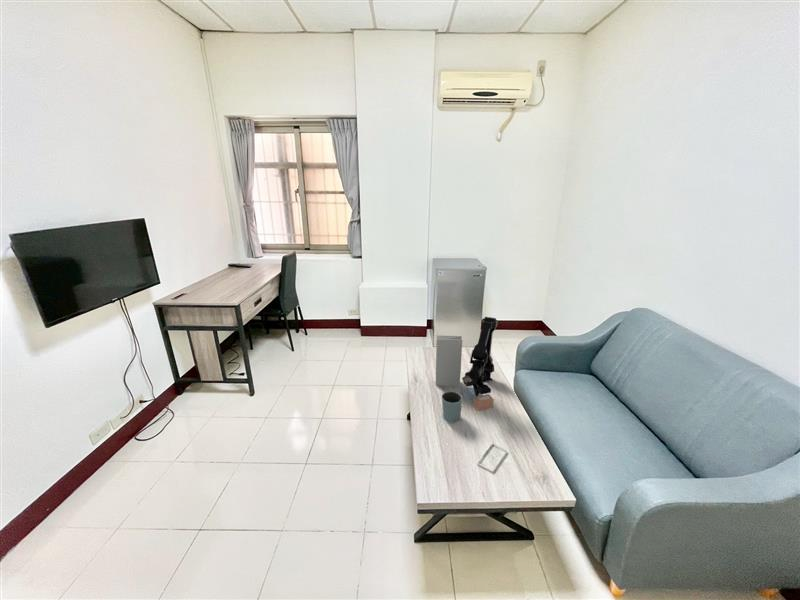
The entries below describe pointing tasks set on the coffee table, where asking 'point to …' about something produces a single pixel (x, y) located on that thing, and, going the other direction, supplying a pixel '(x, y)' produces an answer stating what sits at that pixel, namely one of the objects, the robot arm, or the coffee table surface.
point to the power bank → (498, 462)
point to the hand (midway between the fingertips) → (476, 395)
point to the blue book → (470, 393)
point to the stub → (483, 402)
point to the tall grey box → (448, 360)
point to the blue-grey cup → (451, 406)
